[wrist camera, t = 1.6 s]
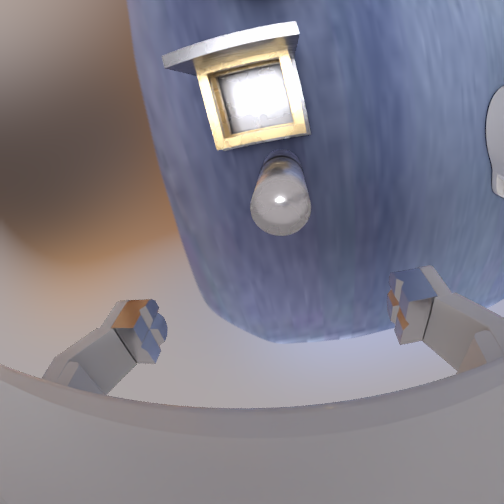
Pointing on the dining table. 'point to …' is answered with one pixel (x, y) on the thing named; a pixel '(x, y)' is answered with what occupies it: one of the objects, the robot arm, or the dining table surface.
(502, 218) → the dining table surface
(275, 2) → the dining table surface
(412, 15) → the dining table surface
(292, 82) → the stand
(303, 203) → the metal cylinder
